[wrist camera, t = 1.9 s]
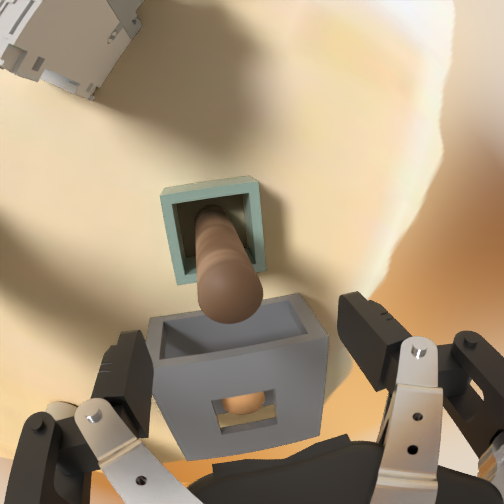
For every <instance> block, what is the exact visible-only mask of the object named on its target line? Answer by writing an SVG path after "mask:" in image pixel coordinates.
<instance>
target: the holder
mask: <svg viewBox="0 0 504 504" xmlns="http://www.w3.org/2000/svg"><path fill="white" fill-rule="evenodd" d="M236 194H242V196H243V206H244V215H245V225H246V234H247V243H248V248H244V249H245V251H246V253H247V255H248V257H249V259H250V262H251V264H252V266H253V268H254V270H255V272H256V273H257V272H263V271H266V261H265V249H264V238H263V226H262V215H261V204H260V193H259V182H258V181H257V180H255V179H254V178H252V177H251V176H243V177H235V178H227V179H220V180H212V181H205V182H199V183H192V184H186V185H180V186H173V187H168V188H164V190H163V192H162V193H161V195H160V199H161V205H162V211H163V217H164V222H165V228H166V233H167V238H168V243H169V248H170V253H171V258H172V263H173V268H174V273H175V277H176V282H177V285H183V284H189V283H196V282H197V269H196V256H192V257H185V252H184V246H183V241H182V235H181V229H180V224H179V218H178V212H177V205H176V203H182V202H188V201H195V200H201V199H208V198H215V197H222V196H229V195H236Z"/></svg>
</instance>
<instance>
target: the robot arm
mask: <svg viewBox="0 0 504 504" xmlns="http://www.w3.org/2000/svg"><path fill="white" fill-rule="evenodd" d="M337 330H338V335H339V337H340V340H341V341H342V343H343V344H344V345H345V347H346V348H347V350H348V351H349V353H350V354H351V356H352V357H353V359H354V360H355V362H356V363H357V364H358V366H359V367H360V369H361V370H362V372H363V373H364V374H365V376H366V378H367V379H368V381H369V382H370V383H371V385H372V387H373V388H374V390H375V391H376V392H377V391H380V390H383V389H385V388H386V389H387V390H388V391H389V393H388V396H387V401H386V405H385V410H384V414H383V419H382V423H381V427H380V432H379V435H378V438H377V441H376V442H370V441H350V439H349V437H348V435H347V434H344V435H341V436H338V437H335V438H331V439H328V440H325V441H322V442H318V443H315V444H314V445H311V446H310V447H308V448H306V449H304V450H302V451H300V452H298V453H296V454H294V455H292V456H290V457H288V458H285V459H274V460H263V459H262V460H261V459H259V460H258V459H245V460H238V461H232V462H225V463H217V464H212V467H213V473H211V474H208V475H206V476H204V477H202V478H200V479H198V480H197V481H195V482H193V483H192V484H191V485H189V486H188V487H187V488H186V487H184V486H183V485H182V484H181V483H180V482H179V481H178V480H177V479H176V478H175V477H174V476H173V475H172V474H171V473H170V472H169V471H168V470H167V469H166V468H165V467H164V466H163V465H162V464H161V463H160V461H159V460H158V459H157V458H156V457H155V456H154V455H153V454H152V453H151V452H150V451H149V449H148V448H147V447H146V446H145V445H144V444H143V443H142V442H141V440H140V439H139V438H148V437H149V422H150V409H151V398H152V387H153V377H154V368H153V362H152V359H151V356H150V354H149V351H148V348H147V346H146V343H145V340H144V338H143V335H142V333H141V331H140V330H134V331H125V332H121V334H120V337H119V341H118V344H117V345H112V346H111V347H110V348H109V349H108V350H107V351H106V353H105V354H104V356H103V360H102V363H101V364H102V365H101V366H100V369H99V373H98V375H97V379H96V382H95V385H94V389H93V392H92V396H91V399H89V400H87V401H85V402H83V403H82V404H81V405H80V406H79V407H78V408H77V409H76V412H75V416H72V417H68V418H65V419H61V420H57V421H56V420H55V419H54V418H53V417H52V415H51V414H49V413H47V412H37V413H35V414H33V415H31V416H30V417H29V418H28V419H27V420H26V422H25V423H24V426H23V429H22V432H21V436H20V439H19V442H18V446H17V449H16V453H15V457H14V460H13V465H12V468H11V473H10V477H9V481H8V486H7V491H6V496H5V502H4V504H90V488H91V474H92V471H95V470H99V469H101V470H102V471H103V473H104V474H105V476H106V477H107V479H108V480H109V482H110V483H111V484H112V486H113V487H114V489H115V490H116V491H117V492H118V494H119V495H120V496H121V498H122V499H123V501H124V502H125V503H126V504H504V358H503V356H501V355H500V353H499V352H497V351H496V350H495V349H494V348H493V347H492V346H491V345H490V344H489V343H488V342H487V341H486V340H485V339H484V338H483V337H482V336H481V335H479V334H478V333H476V332H472V331H461V332H459V333H457V334H456V336H455V338H454V341H453V344H447V345H438V346H436V345H435V343H434V342H432V341H431V340H429V339H427V338H424V337H420V336H415V337H413V336H412V335H411V334H410V333H409V332H407V330H406V329H405V328H404V327H403V326H402V325H401V324H400V323H399V322H398V321H397V320H396V319H394V318H393V316H392V315H391V314H389V313H388V311H387V310H386V309H385V308H384V307H383V306H382V305H380V304H378V303H376V302H374V301H372V300H369V301H367V300H366V299H365V298H364V297H363V296H362V295H361V294H360V293H359V292H358V291H356V292H352V293H347V294H343V295H340V297H339V303H338V321H337ZM472 379H473V381H474V382H475V383H476V384H477V385H478V386H479V388H480V389H481V390H482V391H483V395H484V401H483V400H482V399H481V397H480V396H479V395H478V394H477V392H476V391H475V390H474V389H473V388H472V386H471V385H470V382H471V380H472ZM443 407H444V408H445V409H446V411H447V412H448V414H449V415H450V417H451V418H452V419H453V421H454V422H455V424H456V425H457V426H458V428H459V429H460V431H461V432H462V434H463V435H464V437H465V438H466V440H467V441H468V443H469V444H470V446H471V447H472V449H473V450H474V452H475V453H476V455H477V456H478V458H479V463H478V469H479V472H478V475H477V477H476V476H472V475H468V474H465V473H462V472H458V471H455V470H452V469H448V468H445V467H443V466H440V465H438V458H439V449H440V440H441V426H442V409H443Z"/></svg>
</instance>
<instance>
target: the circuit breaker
mask: <svg viewBox="0 0 504 504" xmlns="http://www.w3.org/2000/svg"><path fill="white" fill-rule="evenodd" d="M143 2H144V0H0V68H1V69H6V70H8V71H10V72H11V73H13V74H15V75H17V76H19V77H22V78H26V79H29V80H32V81H36V82H38V81H39V79H42V80H44V81H46V82H49V83H51V84H53V85H55V86H57V87H60V88H62V89H64V90H66V91H68V92H70V93H73V94H75V95H78V96H80V97H83V98H86V99H89V100H91V101H93V100H94V98H95V96H93V95H92V94H93V93H94V91H95V89H96V87H99V88H101V86H102V84H103V83H104V81H105V79H106V78H107V76H108V75H109V73H110V71H111V70H112V68H113V67H114V65H115V64H116V62H117V61H118V59H119V58H120V56H121V55H122V53H123V52H124V50H125V49H126V48H127V46H128V45H129V43H130V42H131V40H132V39H133V38H134V37H135V35H136V34H137V33H138V31H139V30H140V29H141V27H142V25H141V23H140V20H139V19H138V18H136V17H137V13H136V10H137V9H138V7H139V6H140V5H141V4H142V3H143Z"/></svg>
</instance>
